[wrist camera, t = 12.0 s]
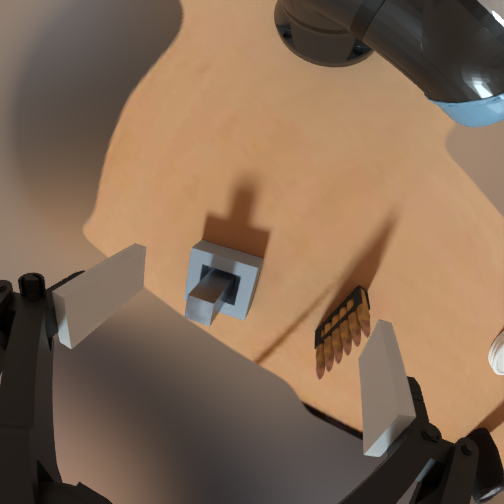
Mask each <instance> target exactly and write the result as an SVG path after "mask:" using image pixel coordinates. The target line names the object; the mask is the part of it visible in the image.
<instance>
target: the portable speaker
mask: <svg viewBox="0 0 504 504" xmlns="http://www.w3.org/2000/svg"><path fill="white" fill-rule="evenodd" d="M469 438H470V439H471V440H473V441H474V442H475V443H476V445H477V447H478V449H479V457H478V464H477V470H476V476H475V481H474V486H473V491H472V496H473V498H474V501H475V503H478V504H481V503H485V502H487V501H489V500H491V499H492V498H493V497H494V496H495V495H497V494H498V493H500V492H501V491H503V490H504V469H503V466H502V462H501V459H500V455H499V452H498V449H497V447H496V445H495V443H494V441H493V439H492V437H491V435H490V433H489V432H488V431H487V430H486V429H485V428H480V429H478V430H475V431H474V434H473V435H471V436H470V437H469Z"/></svg>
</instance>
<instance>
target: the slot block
mask: <svg viewBox="0 0 504 504" xmlns="http://www.w3.org/2000/svg"><path fill="white" fill-rule="evenodd" d="M263 259H264V258H261V257H257V256H254V255H251V254H247V253H244V252H241V251H238V250H234V249H231V248H228V247H224V246H221V245H218V244H215V243H211V242H208V241H205V240H201V241H200V242H199V243H197V244H196V245H195V246H193V247H192V250H191V256H190V263H189V269H188V276H187V283H186V290H185V297H184V300H186V301H187V296H188V294H189V293H190V292H191V291H192V290H193V288H194V287H195V286H196V285H197V284H198V283H199V282H200V281H201V280H202V279H203V278H204V277H205V276H206V275H207V273H208V272H209V271H210V270H211V269H212V268H216V269H219V270H222V271H225V272H229V273H232V274H235V275H237V278H236V282H235V286H234V290H233V292H232V293H231V295H230V296H229V298H228V299H227V301H226V302H225V304H224V305H223V307H222V308H221V310H220V311H219V312H220V313H223V314H226V315H229V316H232V317H235V318H238V319H241V320H245V318H246V316H247V314H248V312H249V310H250V308H251V304H252V300H253V297H254V293H255V289H256V285H257V281H258V278H259V274H260V270H261V266H262V263H263Z"/></svg>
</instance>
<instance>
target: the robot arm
mask: <svg viewBox="0 0 504 504" xmlns="http://www.w3.org/2000/svg"><path fill="white" fill-rule="evenodd" d="M274 19H275V25H276V28H277V31H278V33H279V35H280V37H281V39H282V41H283V42H284V44H285V45H286V46H287V47H288V48H289V49H290V50H291V51H292V52H293V53H294V54H296V55H297V56H298V57H300V58H302V59H304V60H306V61H308V62H310V63H313V64H316V65H320V66H326V67H345V66H350V65H354V64H357V63H359V62H361V61H363V60H365V59H366V58H368V57H369V56H370V55H371V54H372V53H373V52H374V51H376V52H377V53H378V54H379V55H381V56H382V57H383V58H385V59H386V60H387V61H388V62H390V63H391V64H392V65H393V66H395V67H396V68H397V69H398V70H399V71H401V72H402V73H403V74H404V75H405V76H406V77H408V78H409V79H410V80H411V81H412V82H413V83H414V84H415V85H417V86H418V87H419V88H420V89H421V90H422V91H423V92H424V95H425V96H426V98H427V99H428V100H429V101H431V102H433V103H434V104H436V105H438V106H439V107H440V108H441V109H442V110H443V111H444V112H445V113H446V114H447V115H448V116H449V117H450V118H451V119H452V120H454V121H455V122H457V123H460V124H461V125H464V126H467V127H482V126H487V125H490V124H494V123H497V122H499V121H502V120H504V0H278V1H277V3H276V6H275V12H274ZM145 257H146V247H145V246H142V245H139V244H136V243H135V244H133V245H131V246H129V247H127V248H126V249H124V250H122V251H120V252H118V253H117V254H115V255H113V256H111V257H110V258H108V259H106V260H104V261H102V262H101V263H99V264H97V265H96V266H94V267H92V268H90V269H89V270H87V271H80V272H76V273H74V274H72V275H70V276H68V278H65V279H63V280H62V281H60V282H58V283H57V284H55V285H53V286H51V287H50V288H48V289H45V280H44V277H43V276H42V275H41V274H39V273H27V274H24V275H22V276H21V277H20V278H19V279H18V283H19V289H20V293H16V292H13V288H12V284H11V282H9V281H7V280H0V375H1V373H2V378H1V384H0V504H112V503H111V502H110V501H109V500H108V499H107V498H105V497H103V496H102V495H100V494H98V493H97V492H95V491H93V490H92V489H90V488H88V487H87V486H85V485H83V484H82V483H81V482H79V483H78V484H77V486H74V485H70V484H66V483H63V482H62V479H61V476H60V473H59V470H58V466H57V461H56V452H55V442H54V428H53V403H52V377H53V352H54V338H53V336H54V335H55V334H56V333H59V339H60V342H61V343H62V344H64V345H66V346H67V347H69V348H70V349H72V348H73V347H75V346H76V345H77V344H78V343H79V342H80V341H81V340H83V339H84V338H85V337H86V336H87V335H89V334H90V333H91V332H92V331H93V330H94V329H96V328H97V327H98V326H99V325H100V324H102V323H103V322H104V321H105V320H106V319H108V318H109V317H110V316H111V315H112V314H113V313H115V312H116V311H117V310H118V309H119V308H121V307H122V306H123V305H124V304H126V303H127V302H128V301H129V300H130V299H132V298H133V297H134V296H135V295H136V294H138V293H139V292H140V291H141V290H143V284H144V269H145ZM2 370H3V372H2ZM359 370H360V383H361V397H362V416H363V444H364V445H363V446H364V455H369V456H377V457H380V456H381V455H382V454H383V453H384V452H385V451H386V450H387V452H388V457H387V458H386V459H385V460H384V461H383V462H382V463H381V464H380V465H379V466H378V467H377V468H376V469H375V470H374V471H373V472H372V473H371V474H370V475H369V476H368V477H367V478H366V479H365V480H364V481H363V482H362V483H361V484H360V485H358V486H357V487H356V488H355V489H354V490H353V491H352V492H351V493H349V494H348V495H347V496H346V497H345V498H344V499H342V500H341V501H340V502H339V503H338V504H396V503H397V502H398V500H399V499H400V498H401V497H402V496H403V494H404V493H405V492H406V491H407V490H408V488H409V487H410V486H411V484H412V483H413V482H414V481H415V480H416V481H418V483H417V486H416V488H415V490H414V493H413V495H412V498H411V500H410V502H409V504H469V503H470V499H471V495H472V491H473V486H474V481H475V476H476V470H477V464H478V457H479V449H478V447H477V445H476V443H475V442H474V441H473V440H471V439H470V438H466V437H464V438H460V439H459V440H458V441H457V442H456V443H455V444H454V443H451V442H449V441H446V440H444V439H442V436H441V433H440V431H439V429H438V428H437V427H436V426H434V425H433V424H431V423H429V419H428V415H427V411H426V407H425V403H424V402H423V401H424V399H423V396H422V392H421V388H420V385H419V384H418V382H417V381H416V380H415V378H413V377H408V376H406V372H405V368H404V364H403V361H402V357H401V353H400V350H399V346H398V343H397V340H396V336H395V333H394V330H393V326H392V323H391V322H387V321H383V320H380V319H379V320H378V322H377V324H376V326H375V328H374V330H373V332H372V334H371V336H370V338H369V340H368V342H367V344H366V346H365V348H364V349H363V351H362V353H361V355H360V357H359Z"/></svg>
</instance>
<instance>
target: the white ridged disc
mask: <svg viewBox="0 0 504 504" xmlns="http://www.w3.org/2000/svg"><path fill="white" fill-rule="evenodd" d="M488 360H489V363H490V365H491V367H492V368H493V370H494V372H495V373H496V374H498V375H504V331H503V332H501V333H500V334H499V335H498V336H497V338H496V339H495V340H494V342H493V343H492V345H491V347H490V350H489V354H488Z"/></svg>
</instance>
